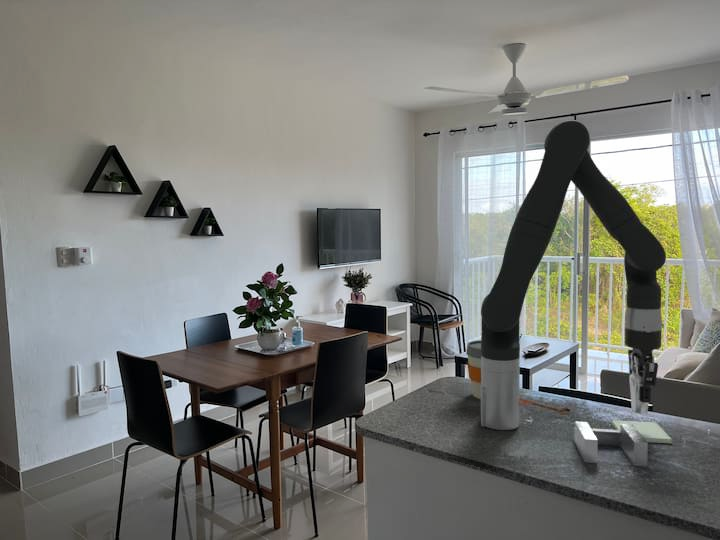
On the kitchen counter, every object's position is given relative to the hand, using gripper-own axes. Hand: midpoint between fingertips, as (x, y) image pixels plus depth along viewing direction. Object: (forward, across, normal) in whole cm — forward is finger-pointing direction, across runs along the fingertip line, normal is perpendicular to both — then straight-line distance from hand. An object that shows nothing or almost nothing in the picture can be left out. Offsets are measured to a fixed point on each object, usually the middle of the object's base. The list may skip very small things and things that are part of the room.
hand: (641, 398), depth 123 cm
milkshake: (+3, 0, 0) cm, 3 cm away
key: (+9, -15, -20) cm, 27 cm away
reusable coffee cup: (+9, -23, -34) cm, 42 cm away
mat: (+8, 0, 0) cm, 8 cm away
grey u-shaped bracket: (+8, +13, -10) cm, 19 cm away
